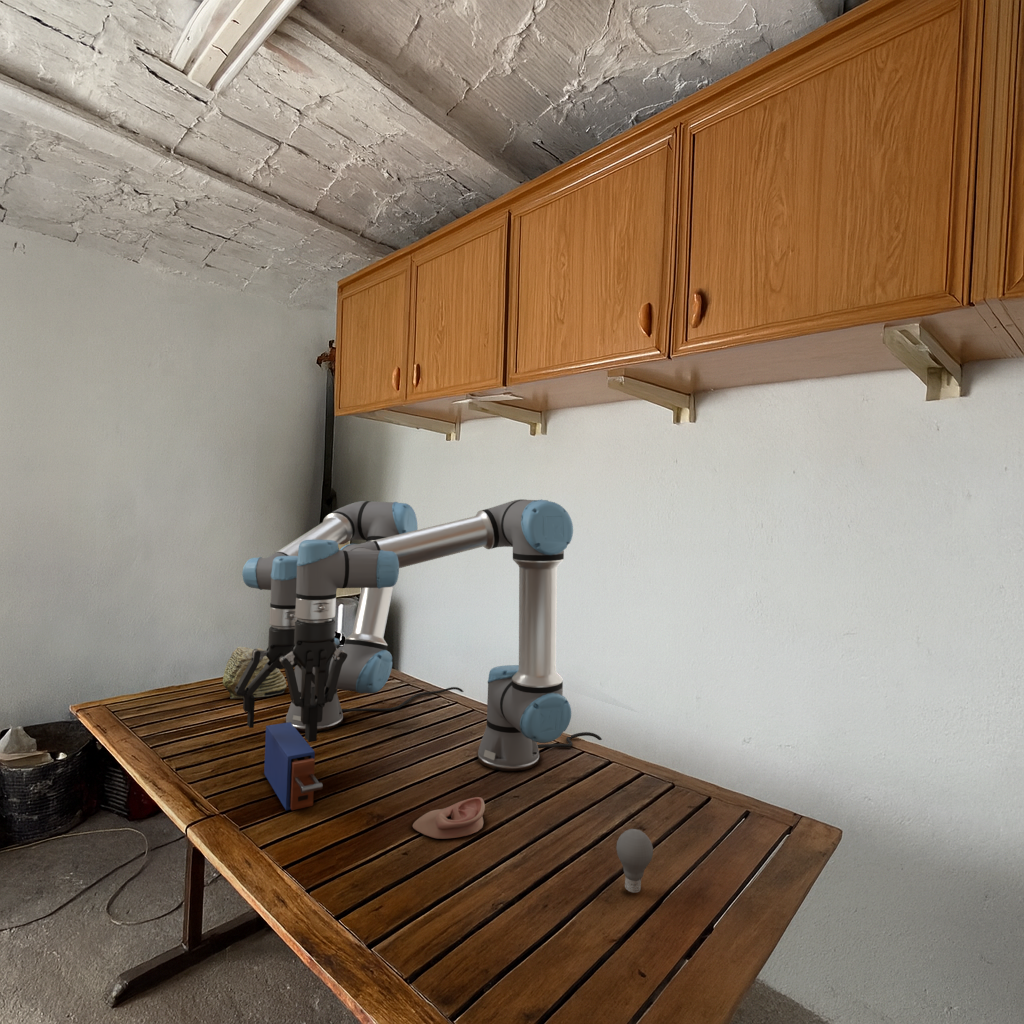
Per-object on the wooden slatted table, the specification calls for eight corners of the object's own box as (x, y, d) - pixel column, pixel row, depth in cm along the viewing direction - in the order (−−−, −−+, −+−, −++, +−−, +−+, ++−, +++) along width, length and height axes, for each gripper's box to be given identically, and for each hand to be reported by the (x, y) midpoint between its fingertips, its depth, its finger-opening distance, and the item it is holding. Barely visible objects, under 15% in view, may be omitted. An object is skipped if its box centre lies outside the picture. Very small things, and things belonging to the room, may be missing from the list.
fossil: (218, 695, 195) (220, 647, 195) (278, 685, 208) (279, 640, 207) (228, 703, 189) (230, 653, 188) (289, 692, 201) (290, 645, 201)
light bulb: (610, 879, 108) (613, 822, 108) (644, 879, 109) (647, 822, 109) (619, 902, 102) (622, 840, 102) (655, 901, 103) (658, 840, 103)
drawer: (322, 818, 123) (324, 771, 123) (300, 824, 121) (302, 776, 121) (289, 771, 143) (291, 730, 143) (270, 775, 141) (271, 733, 141)
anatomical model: (407, 813, 120) (427, 787, 131) (406, 834, 120) (426, 806, 131) (475, 823, 117) (489, 796, 129) (474, 845, 117) (488, 815, 129)
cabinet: (312, 804, 130) (314, 751, 130) (285, 810, 127) (287, 756, 127) (288, 769, 146) (290, 721, 146) (264, 773, 143) (265, 725, 143)
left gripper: (229, 633, 130) (224, 735, 131) (347, 625, 144) (343, 718, 144) (223, 626, 137) (218, 724, 137) (337, 619, 151) (332, 708, 151)
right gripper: (285, 625, 117) (281, 752, 117) (354, 620, 124) (349, 739, 124) (276, 617, 123) (271, 738, 123) (341, 613, 130) (337, 727, 131)
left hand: (282, 721), depth 141 cm, fingers open, 13 cm apart
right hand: (310, 739), depth 124 cm, fingers closed
